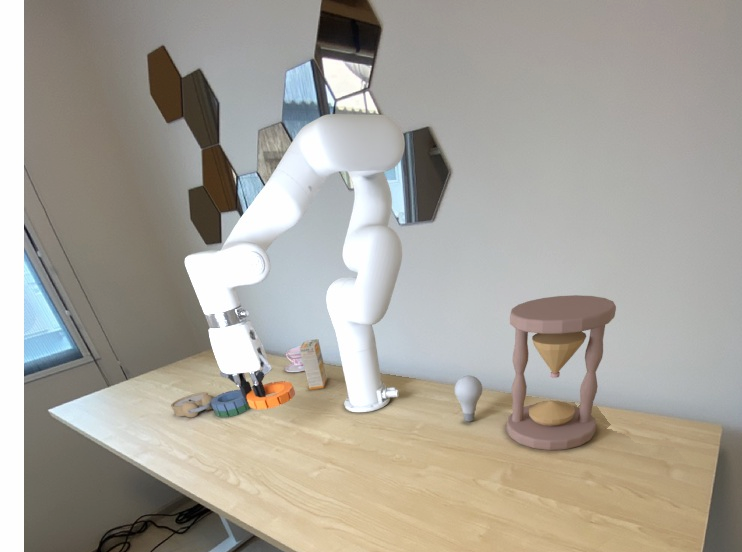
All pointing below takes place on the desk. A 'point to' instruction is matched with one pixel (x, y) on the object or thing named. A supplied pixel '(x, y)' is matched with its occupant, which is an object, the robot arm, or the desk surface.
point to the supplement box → (313, 364)
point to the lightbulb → (468, 395)
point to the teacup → (294, 360)
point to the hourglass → (557, 367)
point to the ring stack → (229, 404)
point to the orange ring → (275, 400)
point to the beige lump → (192, 404)
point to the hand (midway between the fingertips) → (256, 399)
